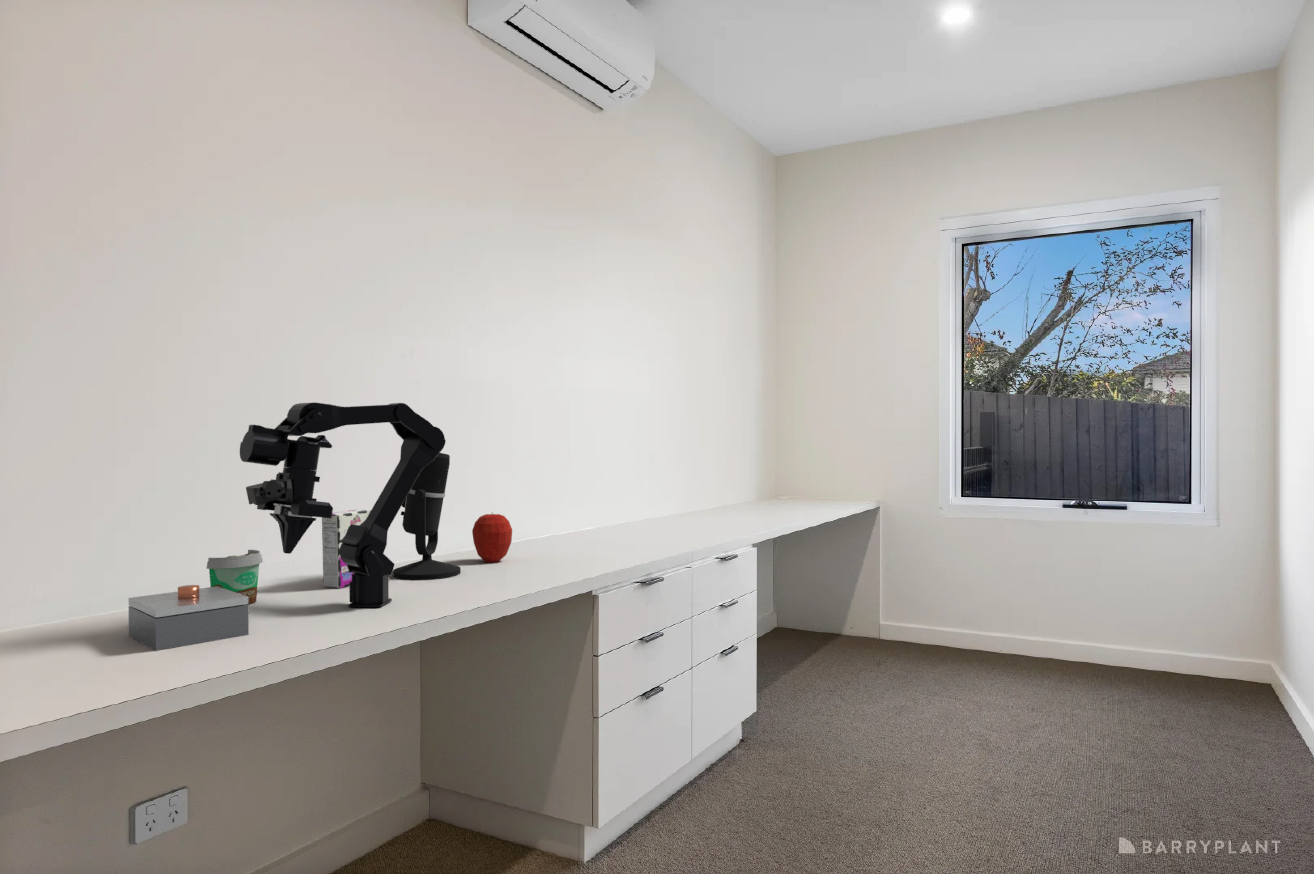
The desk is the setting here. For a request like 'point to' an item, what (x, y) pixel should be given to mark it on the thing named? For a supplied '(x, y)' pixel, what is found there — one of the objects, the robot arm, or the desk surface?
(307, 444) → the robot arm
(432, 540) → the microphone
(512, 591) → the desk surface
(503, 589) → the desk surface
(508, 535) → the apple
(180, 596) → the lid
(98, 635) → the desk surface
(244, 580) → the food container
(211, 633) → the grey storage bin
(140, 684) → the desk surface
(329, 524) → the candy bar box
